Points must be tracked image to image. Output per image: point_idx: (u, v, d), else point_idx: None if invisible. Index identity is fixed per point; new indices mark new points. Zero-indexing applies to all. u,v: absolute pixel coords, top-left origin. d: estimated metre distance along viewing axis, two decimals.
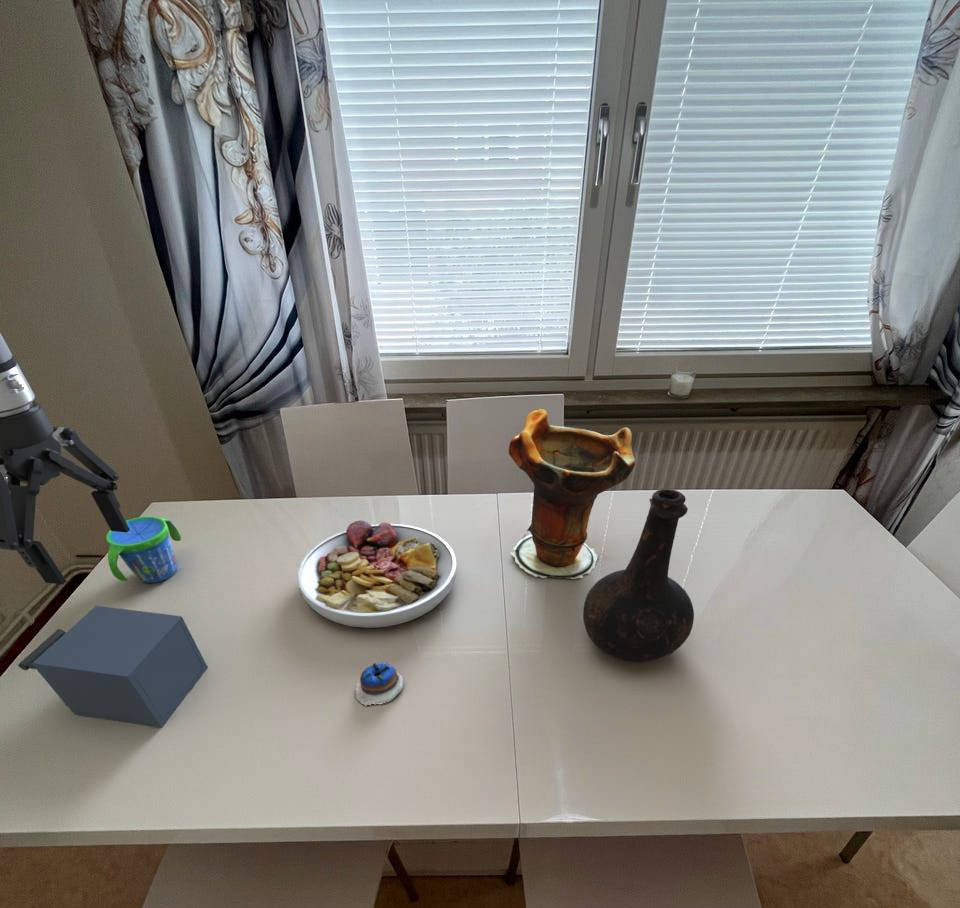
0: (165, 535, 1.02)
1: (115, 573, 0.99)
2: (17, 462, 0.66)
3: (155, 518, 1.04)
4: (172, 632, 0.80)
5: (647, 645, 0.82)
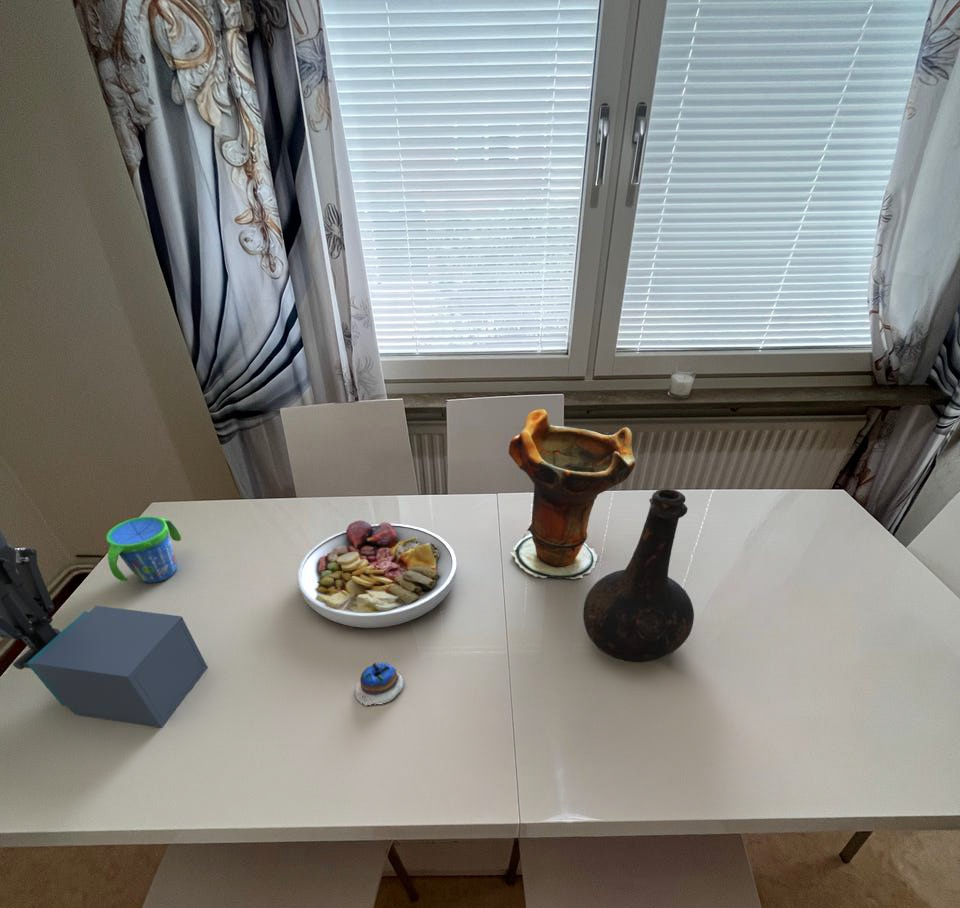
0: (165, 535, 1.02)
1: (115, 573, 0.99)
2: None
3: (155, 518, 1.04)
4: (172, 632, 0.80)
5: (647, 645, 0.82)
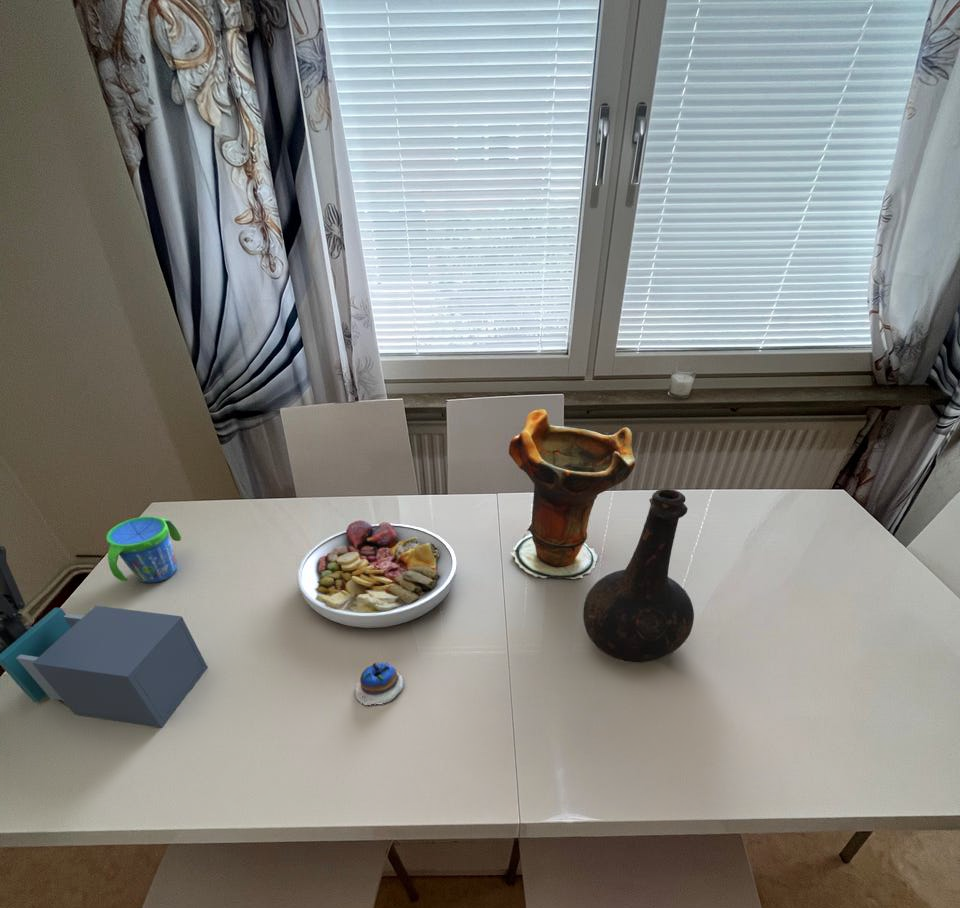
0: (165, 535, 1.02)
1: (115, 573, 0.99)
2: None
3: (155, 518, 1.04)
4: (172, 632, 0.80)
5: (647, 645, 0.82)
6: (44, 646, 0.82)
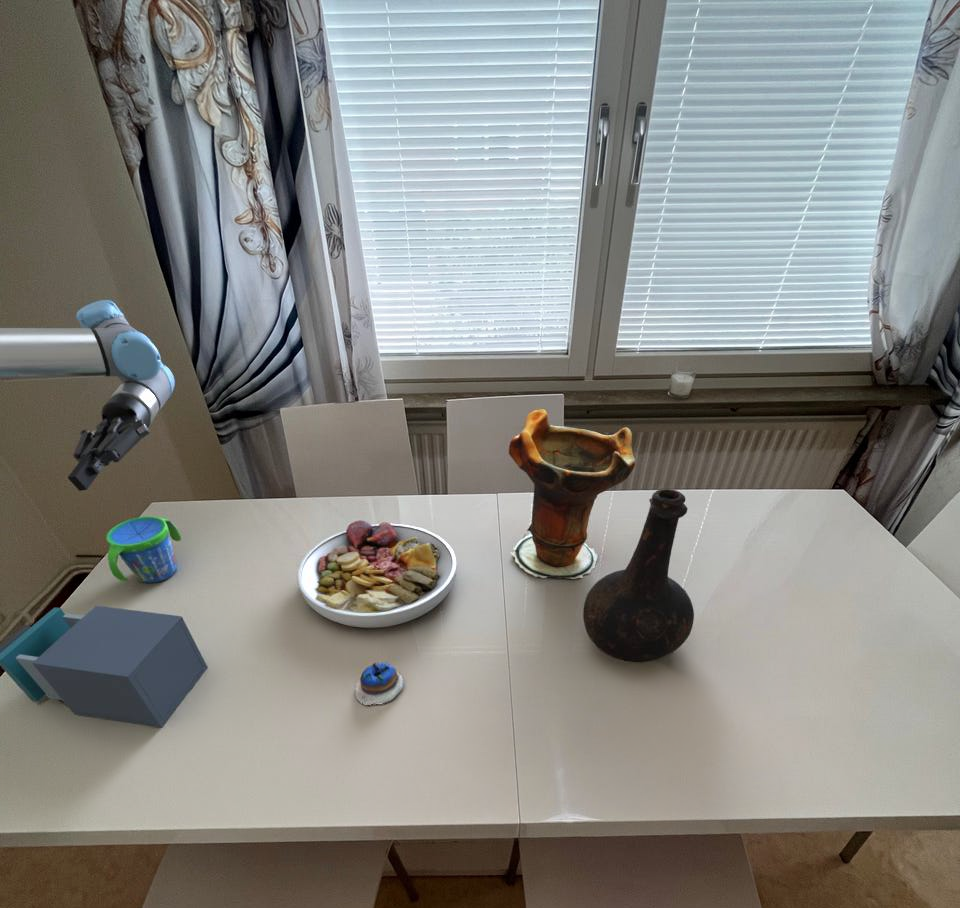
0: (165, 535, 1.02)
1: (115, 573, 0.99)
2: None
3: (155, 518, 1.04)
4: (172, 632, 0.80)
5: (647, 645, 0.82)
6: (43, 646, 0.82)
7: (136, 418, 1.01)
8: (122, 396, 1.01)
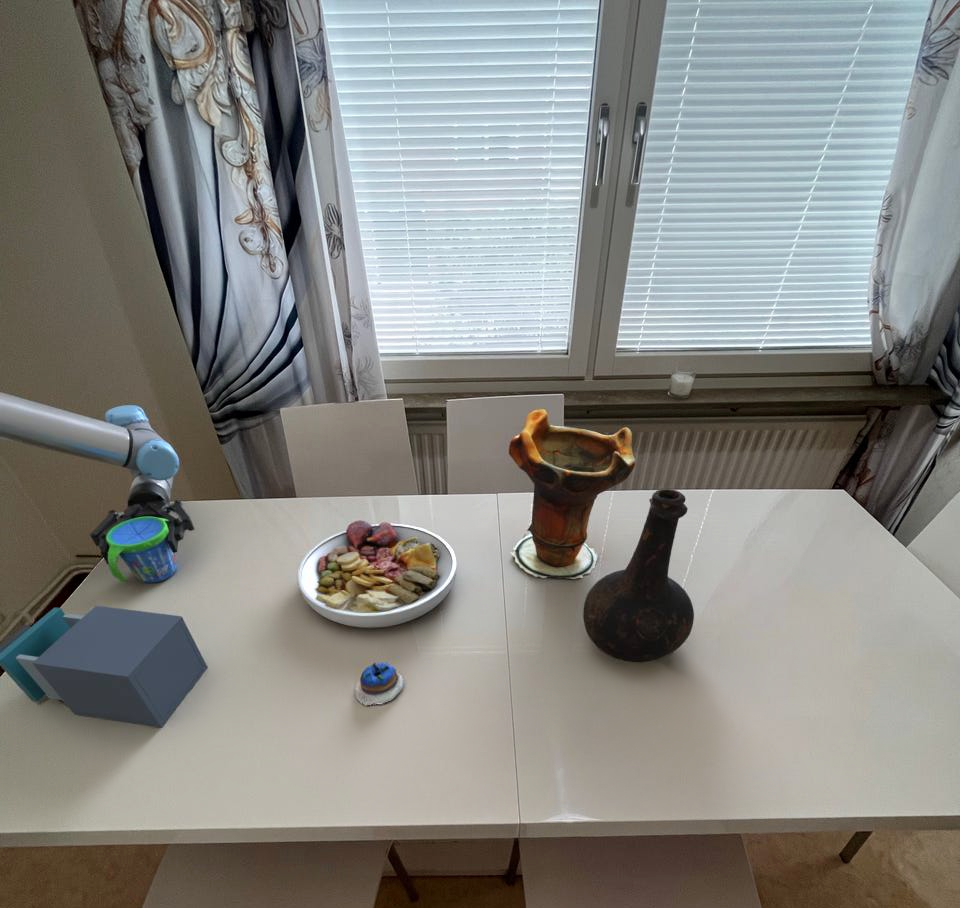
0: (165, 535, 1.02)
1: (115, 573, 0.99)
2: None
3: (155, 518, 1.04)
4: (172, 632, 0.80)
5: (647, 645, 0.82)
6: (43, 646, 0.82)
7: (166, 503, 1.12)
8: (149, 485, 1.12)
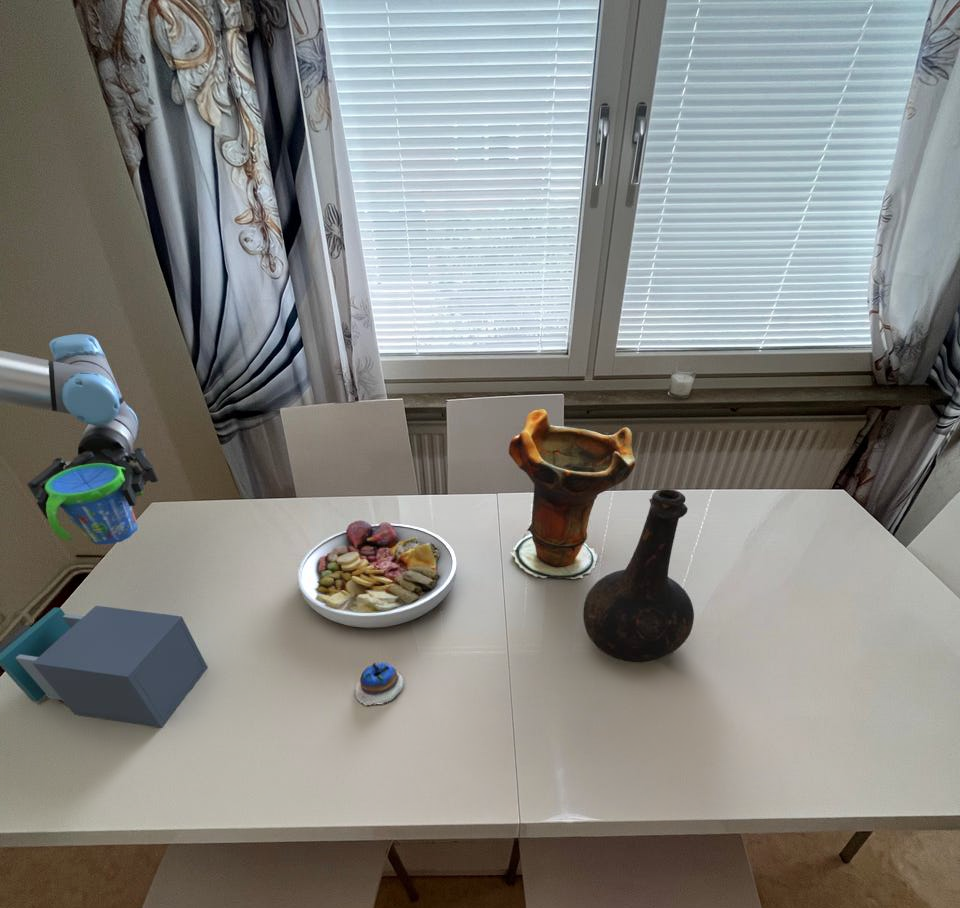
0: (119, 484, 0.83)
1: (56, 530, 0.80)
2: None
3: (108, 465, 0.85)
4: (172, 632, 0.80)
5: (647, 645, 0.82)
6: (43, 646, 0.82)
7: (125, 451, 0.93)
8: (105, 429, 0.93)
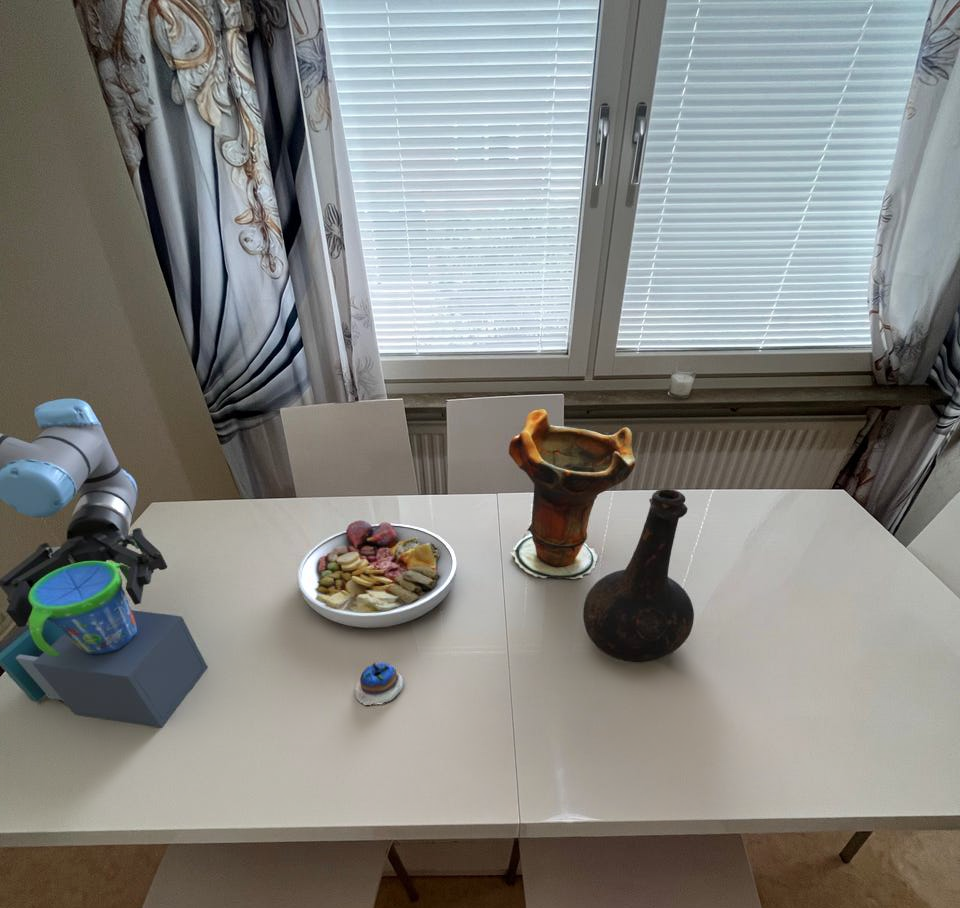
0: (115, 590, 0.71)
1: (41, 647, 0.69)
2: None
3: (103, 564, 0.74)
4: (172, 632, 0.80)
5: (647, 645, 0.82)
6: None
7: (121, 534, 0.81)
8: (98, 508, 0.81)
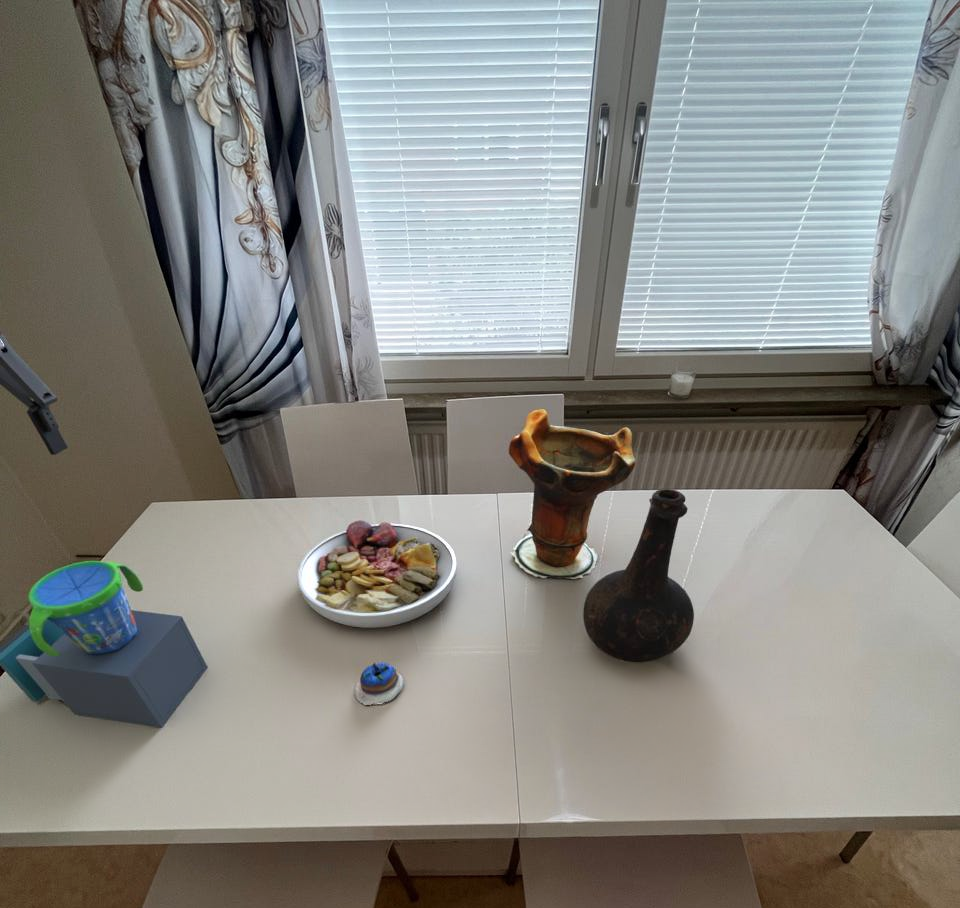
0: (115, 590, 0.71)
1: (41, 647, 0.69)
2: None
3: (103, 563, 0.74)
4: (172, 632, 0.80)
5: (647, 645, 0.82)
6: None
7: None
8: None
